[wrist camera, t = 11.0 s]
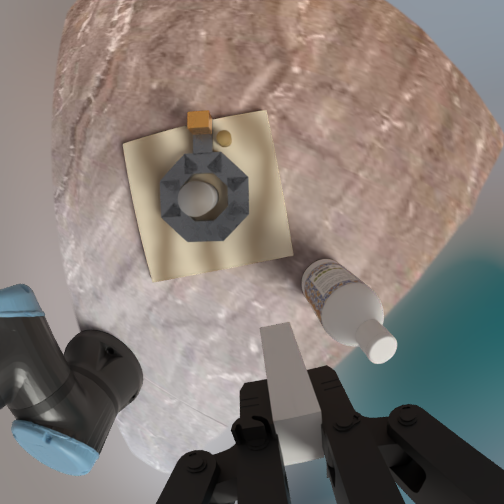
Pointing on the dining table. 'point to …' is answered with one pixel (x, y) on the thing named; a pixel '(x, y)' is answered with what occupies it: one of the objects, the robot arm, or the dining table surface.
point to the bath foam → (348, 309)
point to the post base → (246, 235)
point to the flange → (204, 163)
